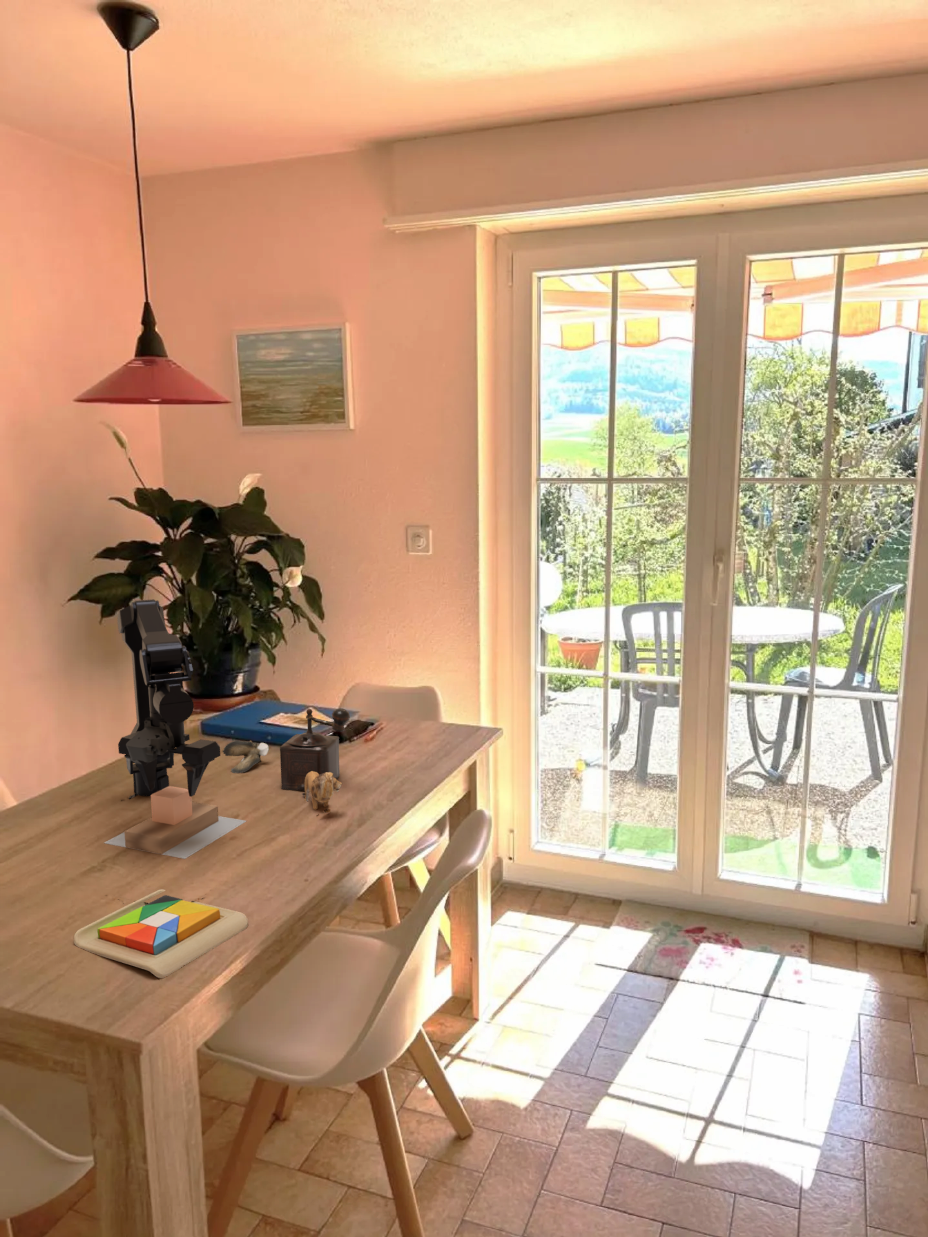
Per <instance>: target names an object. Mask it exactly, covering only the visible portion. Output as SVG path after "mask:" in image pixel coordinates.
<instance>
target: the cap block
mask: <svg viewBox="0 0 928 1237" xmlns="http://www.w3.org/2000/svg"><path fill="white" fill-rule="evenodd" d="M192 798H193V797H190V796H189V792H188V788H184V787H178V786H173V785H169V786H168V787H166V788H164V789H162V790H160V791H158V792H156V793H154V794H152V795H151V796H150V805H151V806H150V807H151V817H152V821H155V822H160V823H166V824H171V825H175V824H177V823H179V822H181V821H183V820H185V819H186V818H188V817H190V816H192V802H193V800H192Z"/></svg>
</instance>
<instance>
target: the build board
mask: <svg viewBox="0 0 928 1237" xmlns="http://www.w3.org/2000/svg"><path fill="white" fill-rule="evenodd" d="M218 819H219V821H218V822H216V823H214V824H213V825H211V826H209V827H207V828H206V829H204V830H202V831H201V832H199V833H197V834H195V835H194V836H192V837H190V838H189V839H187V840H185V841H183V842H182V843H180V844H178V845H177V846H175V847H173V848H171V849H170V850H168V851H166V852H165V853H163V854H161V855H163V856H169V857H173V858H179V859H183V860H186V859H188V858H189V857H191V856H192V855H194V854H196V853H197V852H199V851H200V850H202V849H203V848H206V847H207V846H209V845H210V844H212V843H214V842H215V841H217V840H218V839H220V838H221V837H224V836H225V835H227V834H228V833H230V832H232V831H233V830H235V829H236V828H237V827H239V826H241V825H243V824H245V823H246V822H247V820H245V819H239V818H238V819H237V818H232V817H225V816H221V815H218ZM103 844H106V845H111V846H116V847H122V848H126V849H128V848H127V847H126V846H125V832H124V831H123V832H122V833H120V834H118V835H116V836H114V837H112V838H110V839H108V840H107V841H104V842H103ZM130 849H133V848H130ZM133 850H134V849H133ZM135 850H138V849H135ZM138 851H139V850H138ZM140 851H142V852H144V851H143V850H140ZM146 852H148V851H146ZM148 853H149V852H148ZM151 853H153V852H151ZM153 854H154V853H153ZM156 855H159V854H158V853H156Z"/></svg>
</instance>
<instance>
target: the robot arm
mask: <svg viewBox="0 0 928 1237" xmlns="http://www.w3.org/2000/svg"><path fill="white" fill-rule="evenodd" d="M164 612H165V611H164V607H163V606H161V605H160V602H159V600H156V599H139V600H134V601H131V603H130V604H129V605H128V606H127V607H124V608H122V609H120V610H119V611H118V615H117V631H118V633H119V634H121V639H122V641H123V643H124V644H125V645H126V647H127V648H128V649H129V651H130V653H131V662H132V675H133V678H132V679H133V688H134V690H133V691H134V701H135V702H134V704H135V715H136V716H135V718H136V723H135V724H134V727H133V729H132V730H131V733H130V734H128V735H125V736H122V737H121V738H120V740H119V742H118V743H117V745H118V746H117V747H118V754H120V755H124V756H123V757H124V758H125V761H126V768H127V771H128V772H129V775H132V777H133V780H132V781H133V794H132V795H130V796H128V799H129V800H132V799H134V798H135V797H138V796H140V797H151V795H152V794H154V793H156V792H158V791H160V790H162V789H164V788H166V787H168V786H170V778H169V774H168V769H173V766H174V765H175V759H174V757H175V754H176V755H181V759H182V760H183V761H184V762H183V763H182V764H181V766H182V767H183V769H184V770H186V779H187V789H188V792H189V796H190V797H191V798H193V797H194V796H195V795H196V793H197V791H198V790H197V789H198V788H199V786H200V783H201V780H202V778H203V776H204V773H205V771H206V769H207V768H208V766H209V764H210V762H213V761H215V760H216V758H218V757H221V746H220V744H219V743H218V742H217V741H216V740H215V741H214V740H208V739H207V740H206V739H198V740H196V741H194V742H192V743H190V744H189V743H186V742H188V741H190V734H189V733H185V722H186V721H187V720H188V719H190V717H191V716H192V714H193V712H194V707H195V705H194V704H195V703H194V701H193V698H192V697H191V695H190V694H189V693H188V692H187V691H185V689H184V682H190V681H192V675H193V673H194V669H193V665H192V660H191V657H190V652H189V651H188V650H187V646H185V645H183V644H182V641H181V639H180V638H179V637H178V636H177V635H175V634H172V633H169V631H168V629H167V626H166V621H165V620H166V619H165V613H164Z"/></svg>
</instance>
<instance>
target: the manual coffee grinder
mask: <svg viewBox="0 0 928 1237" xmlns="http://www.w3.org/2000/svg"><path fill="white" fill-rule="evenodd" d="M331 716H332V719H333V722H332V721H328V720H324V719H319V718H317V717H313V710H312V709H311V708H308V709H307V710H306V715H305V719H306V720H307V729H306V730H307V731H306V732H303V733H301V734H300V733H296V734H295V735H293V736H292V737H290V738H289V739H288V740H287V741H285V742H284V743H283V744H282V745H281V746H280V747H279V754H280V777H281V778H280V780H281V787H280V788H281V790H286V791H287V790H288V791H289V790H290V791H301V792H302V791H304V792H305V786H304V785H305V784H304V783H305V777H306V775H307V774H308V773H309V772H311V771H313V772H317V773H318V774H319V775H320V774H323V773H326V772H328V773H329V772H331V773H333V777H334V778H336V779H337V780H338V781H339V778H340V773H341V772H340V740H339V739H340V737H339V736H335V735H323V734H322V733H320V732H316V731H315V732H314V731H313V728H312V726H313V724H312V723H313V722H315V723H318V724H321V725H325V726H329V727H331V728H332V730H334V731H335V732H336V733H338V732H341V733H342V732H344V731H345V730H346V729H345V728H346V727H345V725H346V724H347V723H348V722H349V721H350V716H351V715H350V712H349V711H348V710H346V709H344V708H342V707H340V708H336V709H335V710H333V711H332V713H331ZM312 721H313V722H312Z"/></svg>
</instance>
